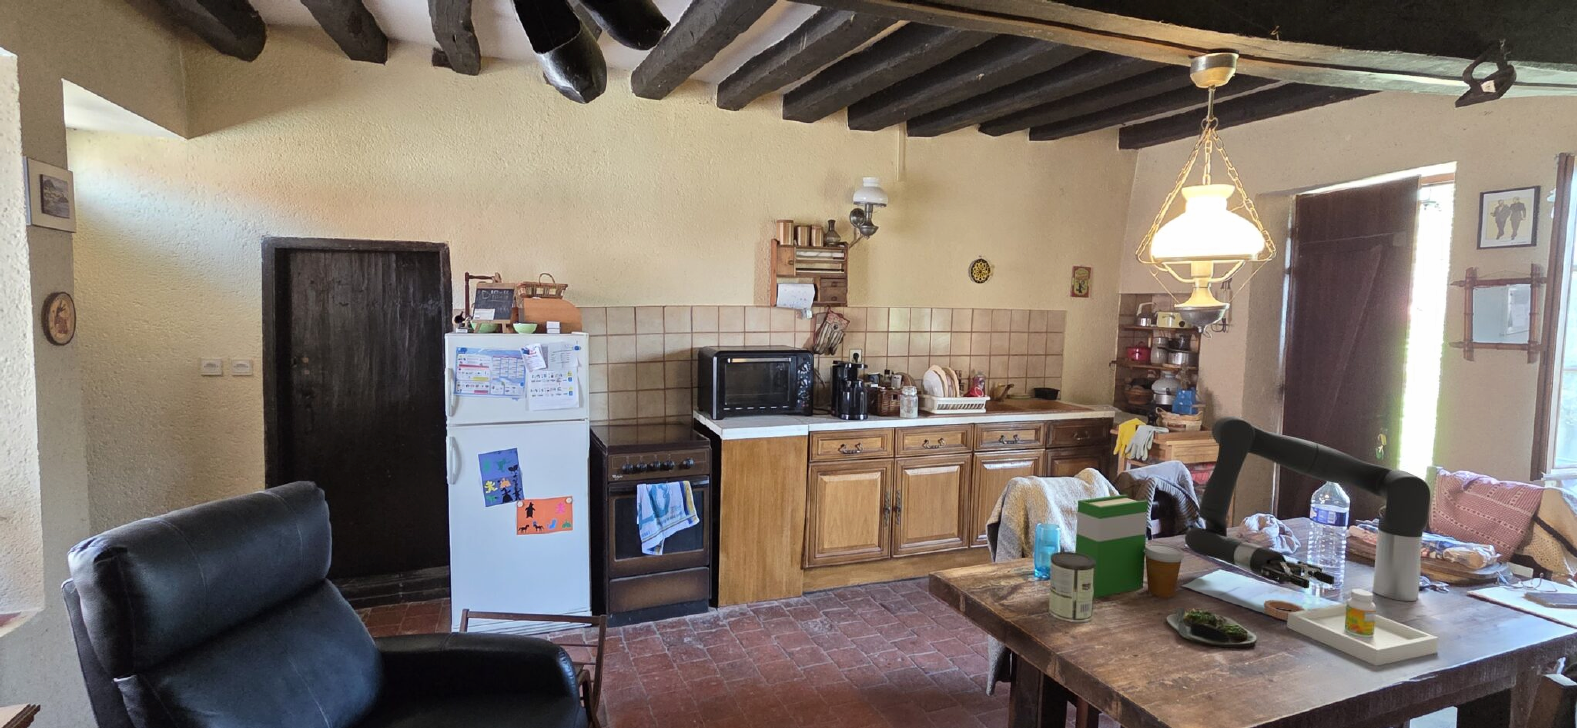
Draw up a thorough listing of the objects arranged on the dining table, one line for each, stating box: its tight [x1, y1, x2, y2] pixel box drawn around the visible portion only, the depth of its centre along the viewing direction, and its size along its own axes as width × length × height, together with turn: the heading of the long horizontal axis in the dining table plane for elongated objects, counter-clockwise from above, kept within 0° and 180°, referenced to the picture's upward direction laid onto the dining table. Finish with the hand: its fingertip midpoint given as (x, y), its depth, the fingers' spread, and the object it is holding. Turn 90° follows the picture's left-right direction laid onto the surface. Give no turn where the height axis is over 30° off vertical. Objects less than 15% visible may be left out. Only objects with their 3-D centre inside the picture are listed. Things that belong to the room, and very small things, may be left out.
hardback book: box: [1074, 494, 1149, 599], centre depth 202 cm, size 18×7×24 cm, turn 115°
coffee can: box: [1048, 551, 1096, 624], centre depth 185 cm, size 10×10×14 cm
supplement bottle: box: [1345, 588, 1377, 638], centre depth 173 cm, size 5×5×10 cm
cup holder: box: [1263, 599, 1306, 621], centre depth 187 cm, size 8×8×2 cm
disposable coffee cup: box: [1144, 543, 1185, 598], centre depth 199 cm, size 10×10×12 cm
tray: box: [1286, 602, 1439, 667], centre depth 173 cm, size 20×20×4 cm
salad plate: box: [1166, 606, 1258, 650], centre depth 177 cm, size 19×18×5 cm
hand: (1320, 582), depth 182 cm, fingers open, 8 cm apart
